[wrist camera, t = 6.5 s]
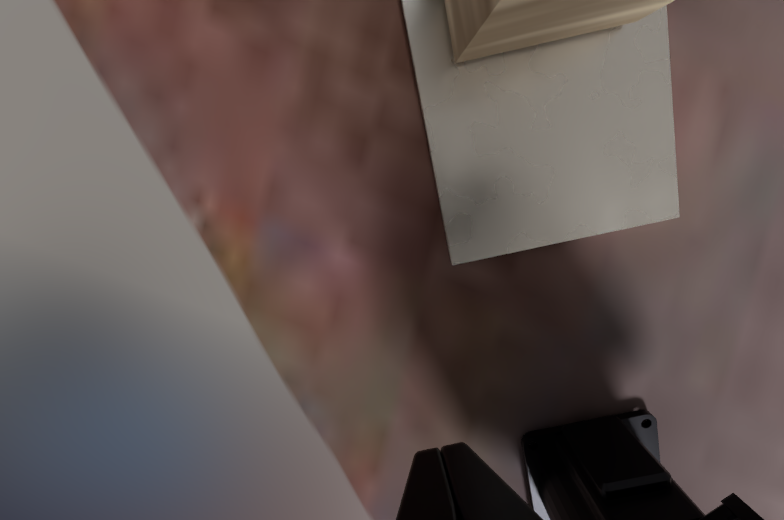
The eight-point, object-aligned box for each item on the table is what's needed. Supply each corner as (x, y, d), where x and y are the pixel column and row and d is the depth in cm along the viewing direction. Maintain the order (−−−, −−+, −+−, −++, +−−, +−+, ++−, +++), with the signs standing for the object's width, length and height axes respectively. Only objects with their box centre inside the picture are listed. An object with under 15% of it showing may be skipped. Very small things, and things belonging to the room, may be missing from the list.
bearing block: (672, 215, 19) (943, 269, 10) (450, 262, 19) (509, 357, 10) (646, -179, 16) (1022, -670, 6) (379, -113, 16) (369, -487, 7)
